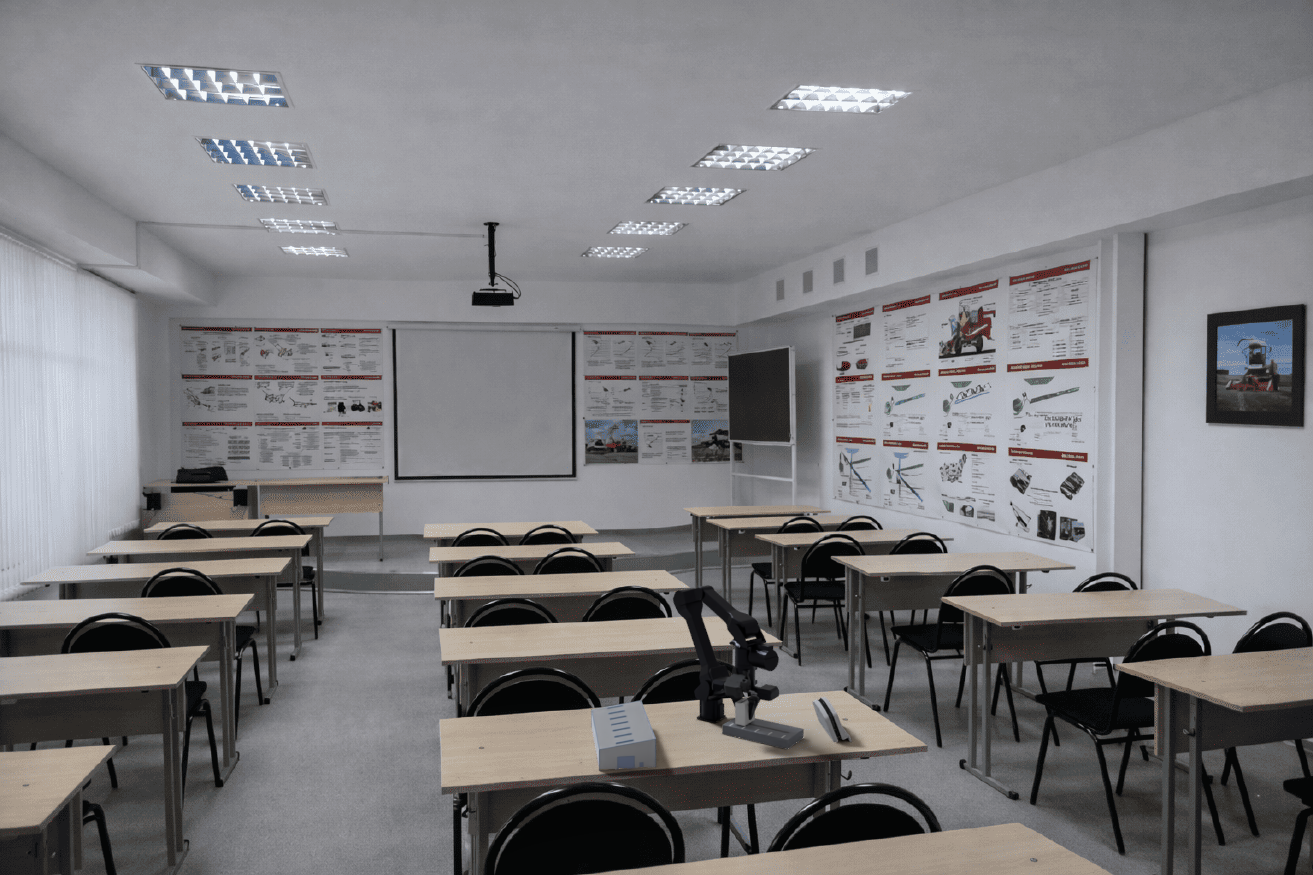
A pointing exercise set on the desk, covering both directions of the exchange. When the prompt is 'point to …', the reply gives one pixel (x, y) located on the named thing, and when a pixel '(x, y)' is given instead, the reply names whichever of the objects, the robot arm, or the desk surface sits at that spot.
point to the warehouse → (623, 736)
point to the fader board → (765, 732)
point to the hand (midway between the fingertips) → (745, 718)
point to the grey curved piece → (829, 719)
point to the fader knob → (742, 712)
